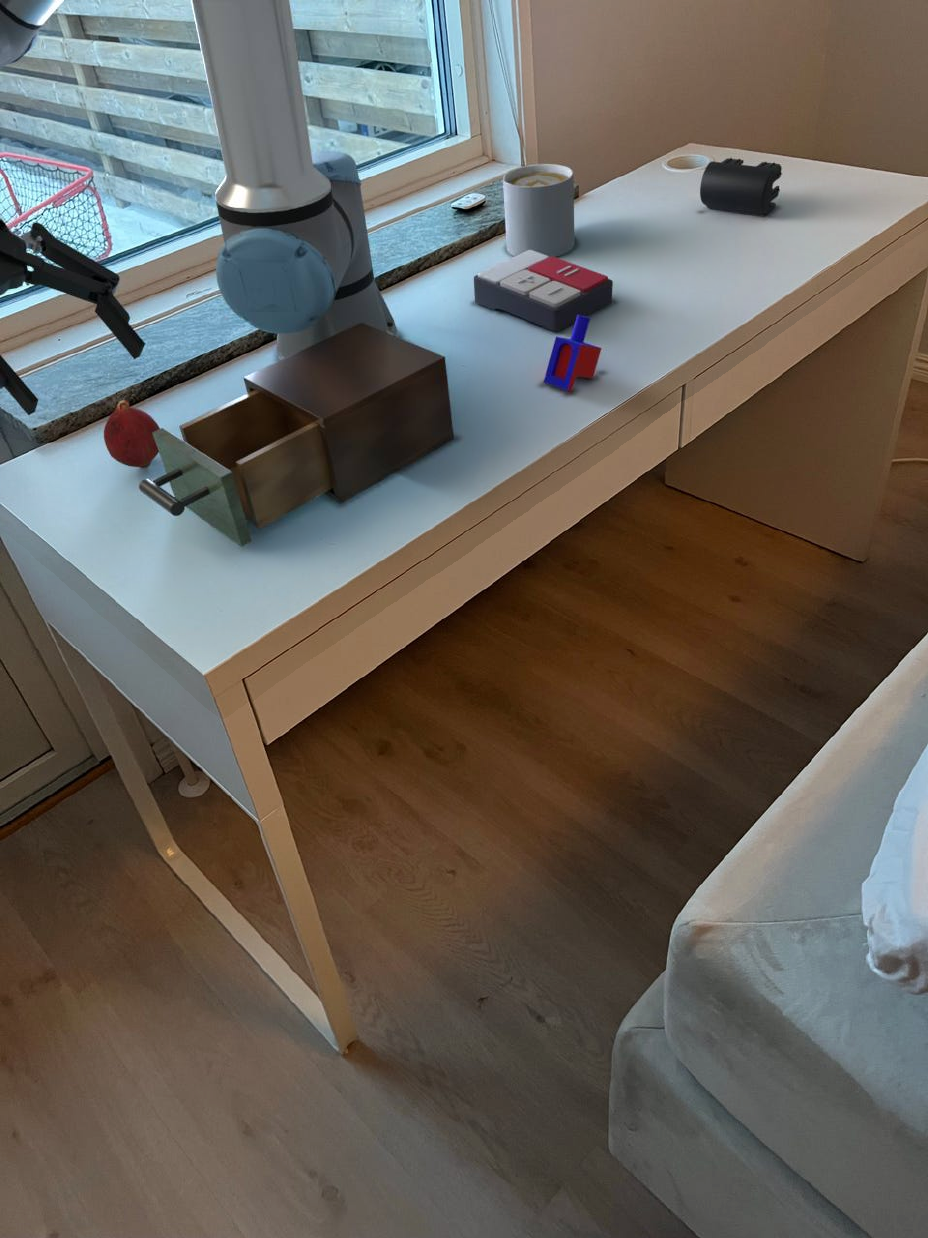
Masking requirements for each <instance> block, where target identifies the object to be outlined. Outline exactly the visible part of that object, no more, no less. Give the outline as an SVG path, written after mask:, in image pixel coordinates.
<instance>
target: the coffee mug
mask: <svg viewBox="0 0 928 1238" xmlns="http://www.w3.org/2000/svg"><path fill="white" fill-rule="evenodd" d="M574 177H575V175H574V171H573V169H572V168H570V167H568V166H565V165H563V164H557V163H556V164H554V163H536V164H535V163H534V164H528V165H524V166H519V167H515V168H514V169H511V170H509V171H507V172H506V173H504V175H503V177H502V189H503V204H504V205H503V206H504V207H503V208H504V222H505V237H506V239H505V240H506V250H507V252H508V253H509V254H510V255H511V256H512V257H515V256H517V255H519V254H521V253H524V252H526V251H528V250H533V251H536V252H538V253H541V254H544V255H547V256H549V257H556V258H558V257H559V256H562V255H565V254H567V253H569V252H570V251H572V250H573V249H574V247H575V181H574V180H575V179H574Z"/></svg>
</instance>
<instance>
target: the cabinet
mask: <svg viewBox="0 0 928 1238" xmlns="http://www.w3.org/2000/svg"><path fill="white" fill-rule="evenodd" d="M446 363H447V362H446V356H445V355H441V354H440V353H437V352H435V351H432V350H430V349H427V348H425V347H423V346H420V345H418V344H415V343H413V342H410V341H407V340H405V339H403V338H400V337H399V336H398V337H396V336H393V335H391V334H389V333H386V332H384V331H381V330H379V329H376V328H374V327H372V326H369V325H367V324H364V323H359V324H357V325H355V326H353V327H351V328H349V329H346V330H344V331H342V332H340V333H338V334H336V335H333V336H331V337H329V338H327V339H325V340H323V341H321V342H318V343H316V344H314V345H312V346H310V347H308V348H306V349H303V350H301V351H299V352H297V353H295V354H293V355H290V356H288V357H286V358H284V359H282V360H280V359H279V360H278V361H275V362H273V363H271V364H269V365H267V366H265V367H262V368H260V369H258V370H256V371H254V372H252V373H250V374H247V375H245V376H243V377H242V378H243V379H242V380H243V382H244V385H245V390H246V394H248V393H250V392H252V391H254V390H257V391H259V392H260V393H262V394H264V395H266V396H268V397H270V398H272V399H274V400H275V401H277V402H279V403H281V404H283V405H285V406H287V407H288V408H290V409H292V410H294V411H296V412H298V413H300V414H302V415H303V416H305V417H307V418H309V419H311V420H313V421H315V422H317V423H318V424H320V428H321V433H322V438H323V442H324V447H325V452H326V456H327V461H328V466H329V470H330V475H331V479H332V484H333V488H332V489H330V490H328V491H327V492H325V493H323V495H325V496H327V497H329V498H330V499H332V500H334V501H335V502H337V503H339V504H343V503H345V502H346V501H348V500H350V499H352V498H354V497H356V496H357V495H359V494H360V493H362V492H364V491H366V490H368V489H369V488H371V487H372V486H374V485H377V484H378V483H380V482H382V481H383V480H385V479H387V478H389V477H390V476H392V475H394V474H396V473H398V472H399V471H400V470H402V469H404V468H406V467H408V466H409V465H412V464H413V463H414V462H416V461H418V460H420V459H422V458H424V457H425V456H427V455H429V454H431V453H432V452H434V451H435V450H438V449H439V448H441V447H443V446H445V445H446V444H448V443H450V442H452V441H453V440H455V435H454V425H453V415H452V406H451V399H450V390H449V381H448V379H449V378H448V371H447V364H446Z"/></svg>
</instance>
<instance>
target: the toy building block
mask: <svg viewBox="0 0 928 1238" xmlns="http://www.w3.org/2000/svg"><path fill="white" fill-rule="evenodd" d="M590 321H591V317H588V316H581V315H577V318H576V321H575V322H574V326H573V329H572V332H571V336H570V338H568V337H560V336H555V338H554V343H553V346H552V350H551V353H550V357H549V361H548V365H547V368H546V372H545V375H544V378H543V383H545V384H547V385H550V386H552V387H555V388H558V389H561V390H564V391H566V392H572V391H573V388H574V385H575V382H576V378H577V377H578V378H588V379H593V378H594V375H595V372H596V369H597V365H598V362H599V359H600V355H601V351H602V347H600V346H597V345H594V344H591V343H588V342H585V339H586V335H587V332H588V328H589V326H590V325H589V324H590Z"/></svg>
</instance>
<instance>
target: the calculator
mask: <svg viewBox="0 0 928 1238" xmlns="http://www.w3.org/2000/svg"><path fill="white" fill-rule="evenodd" d="M613 284H614V282H613V280H612V279H610V278H609V276H608V275H606V274H603V273H600V272H597V271H594V270H592V269H589V268H586V267H583V266H580V265H578V264H575V263H573V262H570V261H567V260H564V259H561V258H558V257H549V256H547V255H544V254H541V253H538V252H536V251H533V250H528V251H526V252H524V253H521V254H519V255H517V256H512V257H511V258H508V259H507V260H504V261H503V262H500V263H498V264H496V265H493V266H491V267H490V268H486V269H485V270H483V271H480V272H478V273H477V274H476V275H474V276H473V292H474V293H473V294H474V303H476V304H478V305H481V306H482V307H485V308H487V309H490V310H492V311H495V310H497V309H499V310H503V311H504V312H507V313H509V314H511V315H513V316H517V317H518V318H521V319H523V320H525V321H528V322H531V323H532V324H535V325H538V326H540V327H543V328H545V329H546V330H549V331H552V332H559V331H561V330H562V329H563V330H564V329H565V328H567V327H569V326H571V325H573V324H575V321H576V318H577V315H581V316H585V317H588V316H589V315H591V314H594V313H595V312H596V311H598V310H600V309H602V308H604V307H606V306H608V305H611V303H612V302H613V287H614V285H613Z"/></svg>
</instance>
